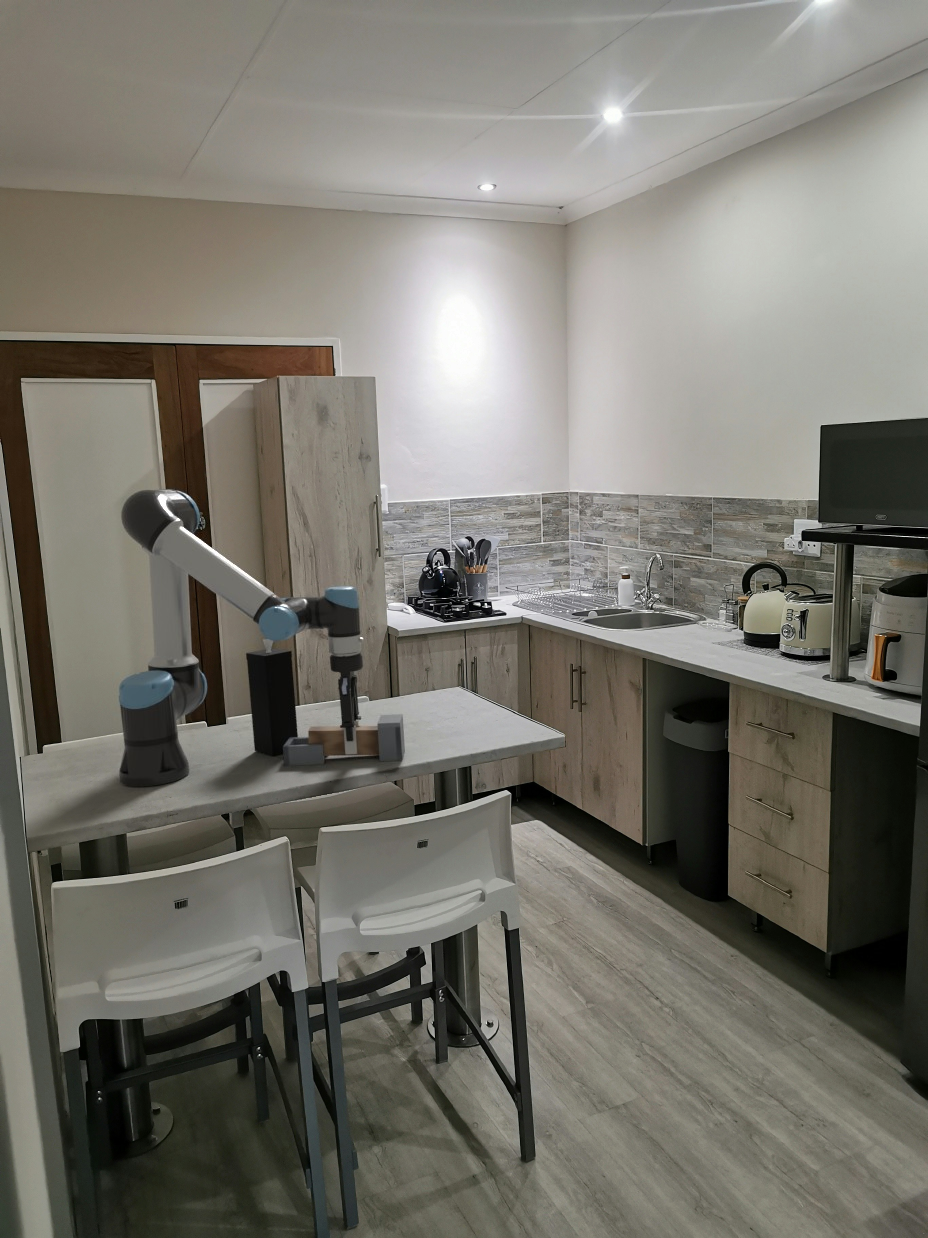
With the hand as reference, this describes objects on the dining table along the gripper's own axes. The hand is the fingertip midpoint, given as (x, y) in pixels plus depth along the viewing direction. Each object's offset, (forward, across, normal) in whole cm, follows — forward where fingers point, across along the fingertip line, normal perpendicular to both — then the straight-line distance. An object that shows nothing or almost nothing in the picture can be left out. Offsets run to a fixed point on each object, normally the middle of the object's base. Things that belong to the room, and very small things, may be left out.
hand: (352, 750), depth 217 cm
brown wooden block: (+1, 0, +1) cm, 1 cm away
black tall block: (+2, +9, +20) cm, 22 cm away
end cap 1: (+2, 0, +11) cm, 11 cm away
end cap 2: (+2, 0, -9) cm, 9 cm away
